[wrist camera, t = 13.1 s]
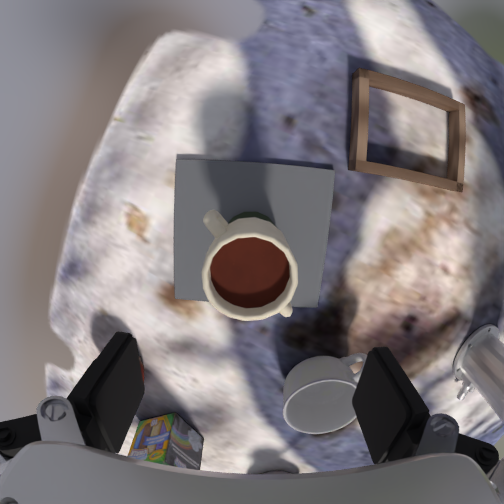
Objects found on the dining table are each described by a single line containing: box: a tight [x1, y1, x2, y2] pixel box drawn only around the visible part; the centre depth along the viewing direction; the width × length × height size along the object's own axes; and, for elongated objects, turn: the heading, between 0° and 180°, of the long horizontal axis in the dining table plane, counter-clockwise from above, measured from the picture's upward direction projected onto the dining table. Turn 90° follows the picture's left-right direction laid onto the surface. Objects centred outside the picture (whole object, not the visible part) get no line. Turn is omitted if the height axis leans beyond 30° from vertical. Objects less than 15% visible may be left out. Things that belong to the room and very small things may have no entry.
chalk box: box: [127, 413, 204, 470], centre depth 36 cm, size 9×9×15 cm
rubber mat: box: [174, 159, 335, 308], centre depth 33 cm, size 17×18×1 cm
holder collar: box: [348, 68, 466, 192], centre depth 29 cm, size 12×16×2 cm
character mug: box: [202, 210, 298, 321], centre depth 27 cm, size 11×7×13 cm, turn 39°
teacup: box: [283, 353, 367, 434], centre depth 35 cm, size 14×11×8 cm
